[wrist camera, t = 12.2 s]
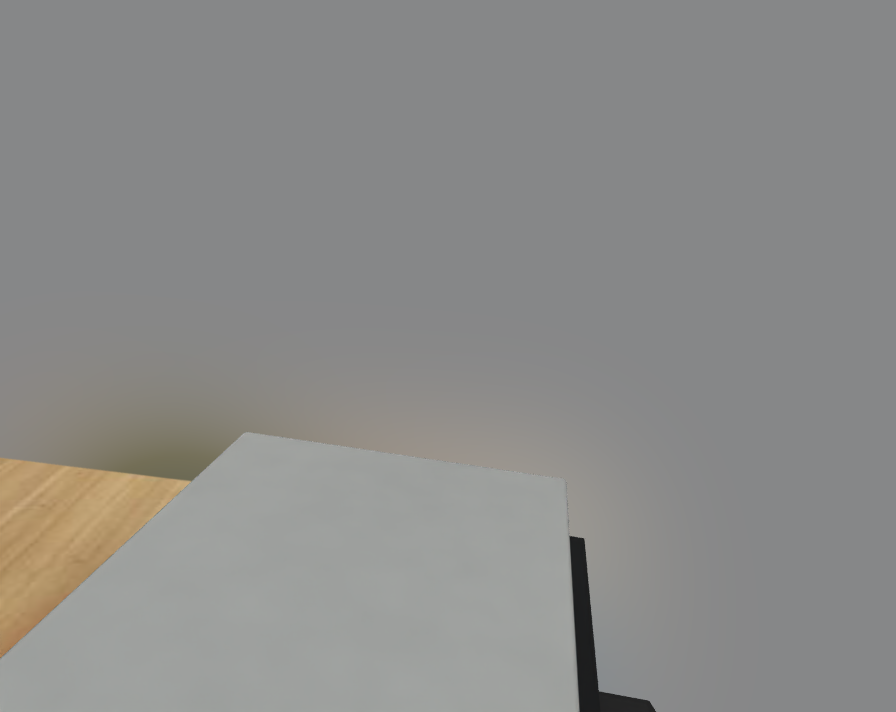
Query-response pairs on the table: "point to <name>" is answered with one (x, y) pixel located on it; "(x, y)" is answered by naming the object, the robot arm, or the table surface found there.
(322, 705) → the white box
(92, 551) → the table surface
